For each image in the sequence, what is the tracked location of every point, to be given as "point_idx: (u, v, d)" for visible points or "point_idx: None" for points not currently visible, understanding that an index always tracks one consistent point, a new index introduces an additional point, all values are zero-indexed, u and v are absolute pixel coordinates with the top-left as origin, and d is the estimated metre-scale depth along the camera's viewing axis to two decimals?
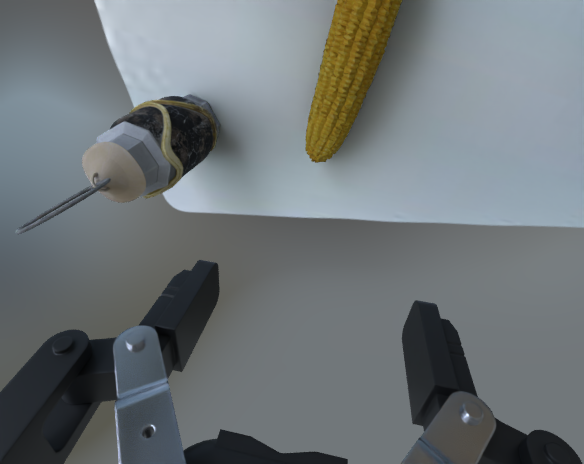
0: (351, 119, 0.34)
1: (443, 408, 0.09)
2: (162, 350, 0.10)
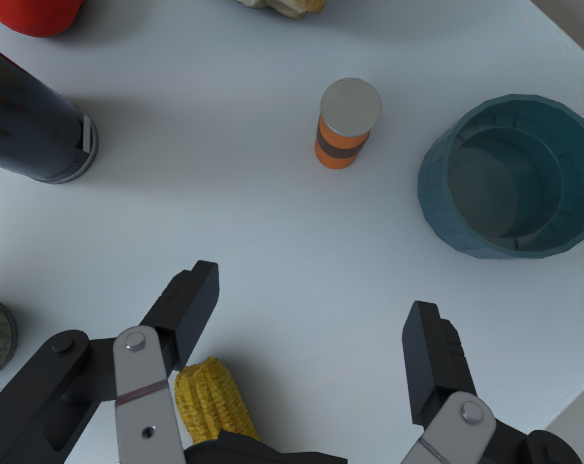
0: None
1: (443, 408, 0.09)
2: (162, 350, 0.10)
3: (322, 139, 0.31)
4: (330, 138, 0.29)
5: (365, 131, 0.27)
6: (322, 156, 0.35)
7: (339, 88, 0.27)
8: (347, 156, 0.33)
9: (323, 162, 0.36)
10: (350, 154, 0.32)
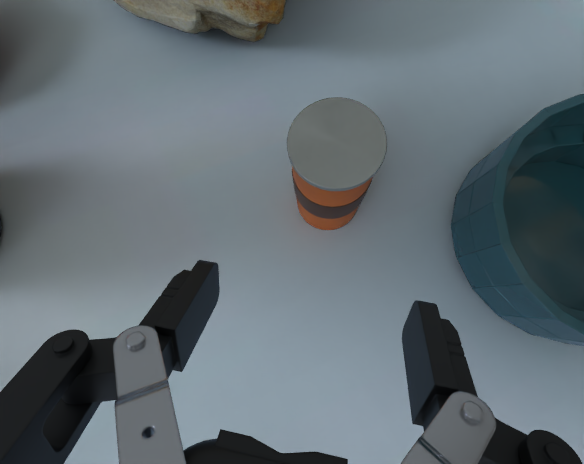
0: None
1: (443, 408, 0.09)
2: (162, 350, 0.10)
3: (301, 195, 0.20)
4: (310, 194, 0.19)
5: (365, 178, 0.16)
6: (307, 216, 0.24)
7: (314, 116, 0.17)
8: (343, 214, 0.21)
9: (311, 223, 0.25)
10: (347, 211, 0.21)
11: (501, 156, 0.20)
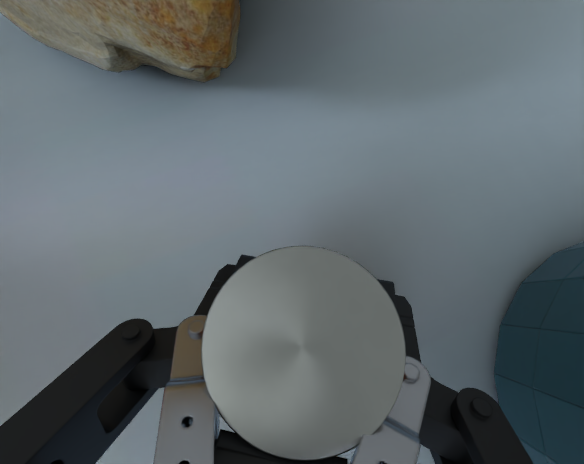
0: None
1: None
2: None
3: None
4: None
5: (361, 438, 0.08)
6: None
7: (258, 286, 0.08)
8: None
9: None
10: None
11: None
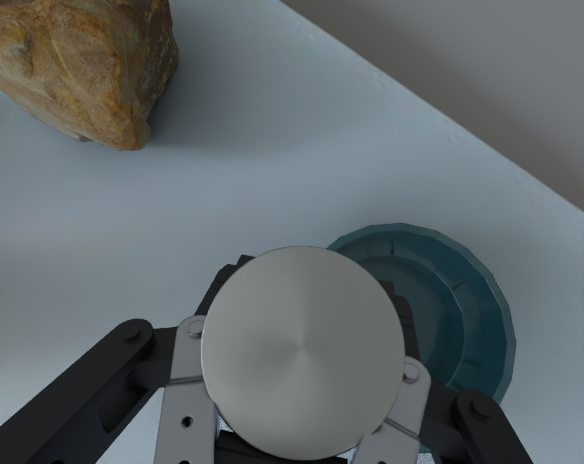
0: None
1: None
2: None
3: None
4: None
5: (360, 438, 0.08)
6: None
7: (257, 286, 0.08)
8: None
9: None
10: None
11: None
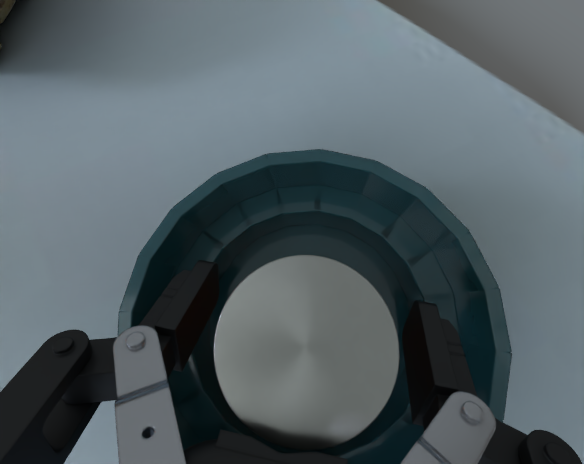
0: None
1: (443, 408, 0.09)
2: (162, 350, 0.10)
3: None
4: None
5: (358, 429, 0.08)
6: None
7: (265, 292, 0.09)
8: None
9: None
10: None
11: None
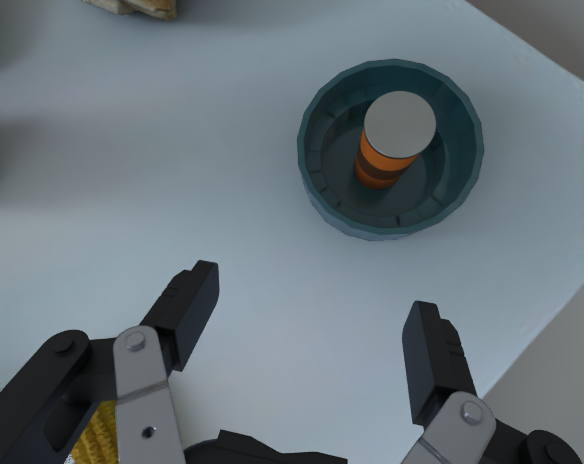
0: None
1: (443, 408, 0.09)
2: (162, 350, 0.10)
3: (366, 162, 0.27)
4: (376, 162, 0.26)
5: (420, 150, 0.23)
6: (364, 179, 0.31)
7: (383, 105, 0.24)
8: (395, 177, 0.29)
9: (365, 184, 0.33)
10: (398, 174, 0.28)
11: None
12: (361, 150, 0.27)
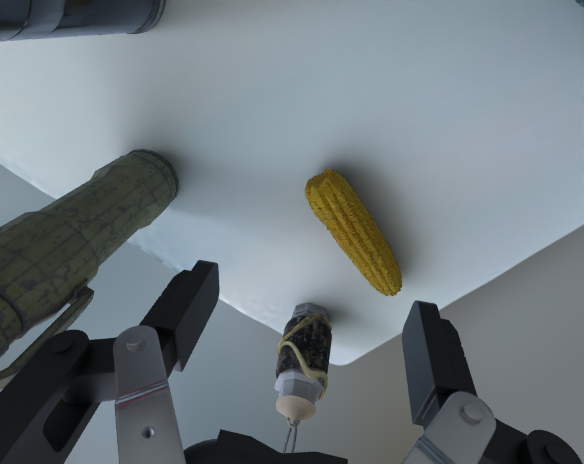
0: (390, 264, 0.43)
1: (443, 408, 0.09)
2: (162, 350, 0.10)
3: None
4: None
5: None
6: None
7: None
8: None
9: None
10: None
11: None
12: None
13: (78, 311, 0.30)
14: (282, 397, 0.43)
